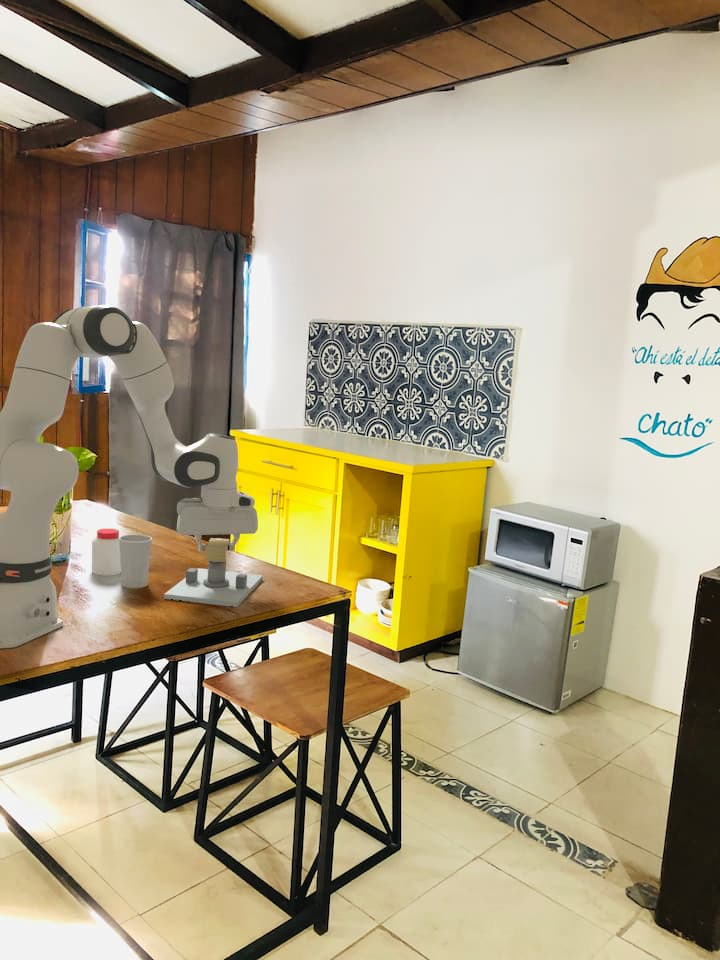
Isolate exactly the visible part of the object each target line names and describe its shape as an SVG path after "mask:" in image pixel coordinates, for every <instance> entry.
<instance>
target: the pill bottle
mask: <svg viewBox="0 0 720 960" xmlns="http://www.w3.org/2000/svg"><path fill="white" fill-rule="evenodd" d="M119 537H120V530H119V529H117V528H100V529H98V530H97V531H96V536H95V537H94V538H93V539H92V540H91V541H92V543H91V544H92V545H91V548H92V549H91V573H92V574H94V575H97V576H101V577H103V576H104V577H105V576H107V577H108V576H116V575H121V562H120V545H119Z"/></svg>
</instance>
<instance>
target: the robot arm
mask: <svg viewBox="0 0 720 960" xmlns="http://www.w3.org/2000/svg"><path fill="white" fill-rule="evenodd" d="M102 357H108V358H109V359H110V360H111V361H112V362H113V363H114V365H115V367H116V369H117V372H118V374H119V376H120V379H121V381H122V384H123V385H124V387H125V389H126V391H127V393H128V395H129V396H130V398H131V401H132V402H133V405H134V407H135V409H136V412H137V414H138V418H139V419H140V423H141V425H142V427H143V428H142V429H143V430H144V432H145V436H146V437H147V441H148V443H149V447H150V454H151V458H150V459H151V467H152V471H153V472H154V474H155V475H156V477H158V478H160V479H161V480H162V481H165V482H170V483H174V484H176V485H178V486H181V487H184V488H197V487H201V490H200V491H201V492H200V493H201V494H200V496H201V497H183V498H182V499H180V500H179V501H178V502H177V503H176V513H177V515H178V516H177V521H176V531H177V533H178V534H179V535H180V536H194V539H195V541H196V542H197V545H198V552H199V553H204V552H205V553H206V547H207V545H206V544H205V543H202V541H201V540H202V536H206V535H207V536H209V535H210V536H211V535H232V537H233V539H232V541H231V542H229V552H235V551H236V545H237V544H238V542H239V540H240V537H241V535H247V534H250V535H254V534H256V533H257V532H258V529H259V520H258V518H259V517H258V513H257V510H256V508H255V504H256V501H255V498H254V497H253V496H251V495H249V494H248V493H245V492H241V491H239V490H238V483H237V474H238V472H239V471H238V470H239V450H238V449H239V448H238V444H237V441H236V440H235V439H234V438H233V437H231V436H228V435H224V434H221V433H220V434H219V433H213V432H209V433H207V434H206V435H205V436H204V437H203V438H201V439H199V440H198V441H197V442H194V443H193V444H191V445H185V444H183V443H182V442H180V441H179V440H178V439H177V438H176V436H175V433H174V432H173V429H172V426H171V423H170V420H169V417H168V416H167V412H166V405H165V404H166V403H167V401H168V400H169V399H170V397H171V396H172V394H173V392H174V389H175V382H174V377H173V374H172V371H171V368H170V365H169V363H168V360H167V358H166V356H165V354H164V353H163V350H162V348H161V346H160V345H159V342H158V341H157V339H156V337H155V336H154V335H153V333H152V332H151V330H150V329H149V328H148V326H147V325H146V324H144V323H143V322H139V321H134V320H133V321H132V320H131V318H129V316H128V315H127V314H126V313H125V312H124V311H122V310H121V309H120V308H118V307H117V306H116V307H115V306H112V305H108V304H100V305H83V306H79V307H75V308H71V309H67V310H64V311H63V312H61V313H59V314H58V315H57V316H56V317H55V318H54V319H53V321H52V322H49V321H48V322H47V321H45V322H38V323H35V324H33V325H32V326H31V327H29V329H27V332H26V334H25V336H24V338H23V341H22V343H21V346H20V348H19V352H18V354H17V356H16V360H15V363H14V369H13V372H12V377H11V379H10V384H9V389H8V392H7V396H6V399H5V402H4V405H3V406H2V409H1V410H0V490H2V491H9V492H10V498H9V503H8V505H7V508H6V509H5V511H2V512H1V513H0V649H12V648H16V647H18V646H22V645H23V644H27V643H29V642H31V641H32V640H34V639H37V638H39V637H42V636H43V635H46V634H48V633H51V632H52V631H54V630H57V629H60V628H62V627H63V626H64V621H63V619H61V618H60V617H59V612H58V611H59V610H58V597H57V596H58V595H57V588H56V587H57V586H55V584H54V583H53V581H52V580H53V579H52V578H51V574H52V566H53V562H52V556H51V555H50V540H51V526H52V525H51V523H52V519H53V516H54V512H55V510H56V508H57V506H58V503H59V502H60V500H61V499H62V498H63V497H64V496H65V495H67V494H68V493H69V492H71V490H72V489H73V488H74V487H75V486H76V483H77V481H78V478H79V474H80V473H79V472H80V470H79V464H78V460H77V457H75V454H74V453H72V452H70V451H69V450H67V449H66V448H63V447H61V446H58V445H56V444H53V443H51V442H50V443H49V442H44V441H43V442H42V441H39V439H40V437H41V436H42V434H43V433H44V431H45V430H46V429H48V427H50V426H51V425H53V424H55V423H56V422H58V421H59V420H60V419H61V418H62V416H63V414H64V409H65V406H66V401H67V397H68V392H69V390H70V389H69V387H70V384H71V379H72V373H73V368H74V366H75V364H76V362H77V360H78V359H79V358H89V359H90V358H91V359H96V358H102Z"/></svg>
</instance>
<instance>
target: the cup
mask: <svg viewBox="0 0 720 960" xmlns="http://www.w3.org/2000/svg"><path fill="white" fill-rule="evenodd" d="M152 542H153V537H152V536H150V535H146V534H137V533H136V534H124V535H122V536H119V545H120V562H121V573H120V578H121V580H120V582H121V583H120V585H121V587H123V588H127V589H142V588H145V587H147V586H148V579H149V569H150V560H151V553H152V552H151V551H152V544H153V543H152Z"/></svg>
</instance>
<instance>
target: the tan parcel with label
mask: <svg viewBox="0 0 720 960" xmlns="http://www.w3.org/2000/svg"><path fill="white" fill-rule="evenodd" d="M229 543H230V538H219V537H216V538H215V537H214V538H213V537H210V539H209V540H208V543H207V545H206V548H205V561H206V562H208V561H209V562H212V563H224V562H226V563H227V559H228V555H229V553H230V551H229Z"/></svg>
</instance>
